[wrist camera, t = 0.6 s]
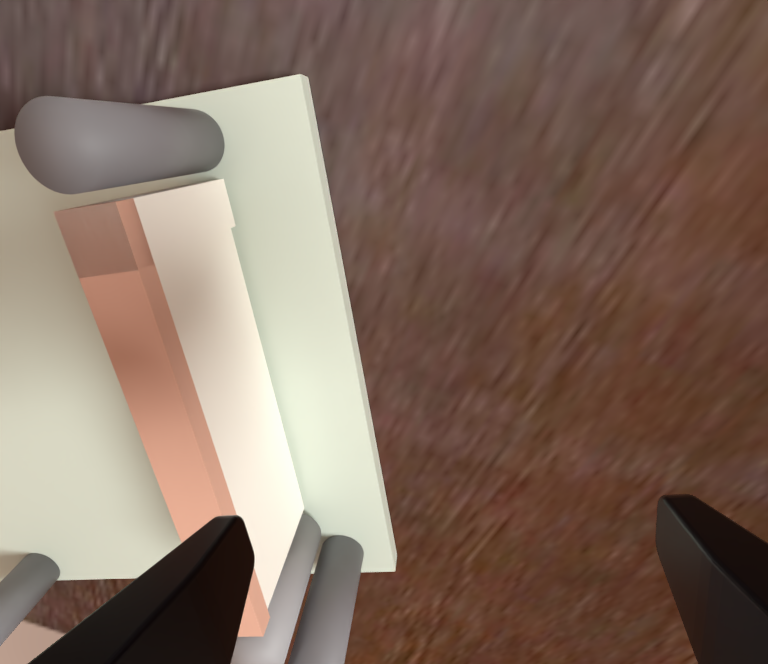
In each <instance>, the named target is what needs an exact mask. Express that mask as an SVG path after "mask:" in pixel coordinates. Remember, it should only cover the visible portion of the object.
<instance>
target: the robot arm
mask: <svg viewBox="0 0 768 664" xmlns="http://www.w3.org/2000/svg"><path fill="white" fill-rule="evenodd" d="M656 547H657V552H658V555H659V558H660V561H661V564H662V566H663V569H664V572H665V575H666V577H667V580H668V583H669V586H670V588H671V591H672V594H673V596H674V599H675V602H676V605H677V607H678V610H679V613H680V616H681V618H682V621H683V624H684V627H685V629H686V632H687V635H688V637H689V640H690V643H691V646H692V648H693V651H694V653H695V656H696V659H697V661H698V664H768V543H767V542H765V541H763V540H762V539H760V538H759V537H757V536H756V535H754V534H753V533H751V532H749V531H748V530H746V529H745V528H743V527H742V526H740V525H739V524H737V523H735V522H734V521H732V520H731V519H729V518H728V517H726V516H725V515H723V514H721V513H720V512H718V511H717V510H715V509H714V508H712V507H710V506H709V505H707V504H706V503H704V502H703V501H701V500H700V499H698V498H696V497H695V496H693V495H689V494H677V495H663V496H662V497H660V498H659V501H658V507H657V523H656ZM254 563H255V556H254V550H253V547H252V544H251V541H250V538H249V535H248V532H247V529H246V526H245V523H244V520H243V519H242V517H240V516H238V515H225V516H217V517H214V518H213V519H212V520H210V521H209V522H208V523H206V524H205V525H204V526H203V527H201V528H200V529H199V530H198V531H196V532H195V533H194V534H192V535H191V536H190V537H189V538H187V539H186V540H185V541H184V542H182V543H181V544H180V545H178V546H177V547H176V548H175V549H173V550H172V551H171V552H170V553H168V554H167V555H166V556H164V557H163V558H162V559H161V560H159V561H158V562H157V563H156V564H154V565H153V566H152V567H150V568H149V569H148V570H147V571H145V572H144V573H143V574H142V575H140V576H139V577H138V578H136V579H135V580H134V581H133V582H131V583H130V584H129V585H128V586H126V587H125V588H124V589H122V590H121V591H120V592H119V593H117V594H116V595H115V596H114V597H112V598H111V599H110V600H108V601H107V602H106V603H105V604H103V605H102V606H101V607H99V608H98V609H97V610H96V611H94V612H93V613H92V614H91V615H89V616H88V617H87V618H85V619H84V620H83V621H82V622H80V623H79V624H78V625H77V626H75V627H74V628H73V629H71V630H70V631H69V632H68V633H66V634H65V635H64V636H63V637H61V638H60V639H59V640H57V641H56V642H55V643H54V644H52V645H51V646H50V647H48V648H47V649H46V650H45V651H44V652H42V653H41V654H40V655H38V656H37V657H36V658H34V659H33V660H32V661H31V662H29V663H28V664H231V660H232V657H233V653H234V649H235V645H236V641H237V637H238V632H239V628H240V624H241V620H242V616H243V612H244V607H245V603H246V599H247V595H248V591H249V586H250V582H251V578H252V574H253V570H254Z"/></svg>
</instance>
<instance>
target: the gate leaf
mask: <svg viewBox="0 0 768 664" xmlns="http://www.w3.org/2000/svg"><path fill="white" fill-rule="evenodd" d="M53 213H54V215H55V218H56V221H57V223H58V226H59V228H60V231H61V234H62V236H63V239H64V241H65V244H66V246H67V249H68V252H69V254H70V257H71V259H72V262H73V264H74V267H75V270H76V272H77V275H78V277H79V280H80V283H81V285H82V288H83V290H84V293H85V295H86V298H87V301H88V303H89V306H90V308H91V311H92V313H93V316H94V319H95V321H96V324H97V326H98V329H99V331H100V334H101V337H102V339H103V342H104V344H105V347H106V350H107V352H108V355H109V357H110V360H111V362H112V365H113V368H114V370H115V373H116V375H117V378H118V380H119V383H120V386H121V388H122V391H123V393H124V396H125V399H126V401H127V404H128V406H129V409H130V411H131V414H132V417H133V419H134V422H135V424H136V427H137V429H138V432H139V435H140V437H141V440H142V442H143V445H144V448H145V450H146V453H147V455H148V458H149V460H150V463H151V466H152V468H153V471H154V473H155V476H156V478H157V481H158V484H159V486H160V489H161V491H162V494H163V496H164V499H165V502H166V504H167V507H168V509H169V512H170V515H171V517H172V520H173V522H174V525H175V527H176V530H177V533H178V535H179V538H180V540H181V543H182V542H184V541H185V540H186V539H187V538H189V537H190V536H191V535H192V534H194V533H195V532H196V531H198V530H199V529H200V528H201V527H203V526H204V525H205V524H206V523H208V522H209V521H210V520H212V519H213V518H214V517H217V516H225V515H238V516H240V517H242V519H243V520H244V523H245V526H246V529H247V532H248V535H249V538H250V541H251V544H252V547H253V550H254V556H255V563H254V570H253V574H252V578H251V582H250V586H249V591H248V595H247V599H246V603H245V607H244V612H243V616H242V620H241V624H240V628H239V632H238V637H237V641H236V645H235V649H234V653H233V657H232V660H231V664H284V662H285V659H286V655H287V652H288V648H289V645H290V642H291V638H292V635H293V631H294V628H295V625H296V621H297V618H298V614H299V611H300V608H301V604H302V601H303V597H304V594H305V591H306V587H307V584H308V581H309V577H310V574H311V570H312V567H313V564H314V560H315V557H316V553H317V550H318V547H319V543H320V540H321V535H322V533H321V529H320V526H319V525H318V523H317V522H316V521H315V520H314V519H313V518H311V517H310V516H308V515H306V514H303V510H304V505H303V501H302V497H301V493H300V489H299V486H298V482H297V478H296V474H295V470H294V467H293V463H292V459H291V455H290V451H289V448H288V444H287V440H286V436H285V432H284V429H283V425H282V421H281V417H280V413H279V410H278V406H277V402H276V398H275V394H274V391H273V387H272V383H271V379H270V375H269V372H268V368H267V364H266V360H265V356H264V353H263V349H262V345H261V341H260V337H259V334H258V330H257V326H256V322H255V318H254V315H253V311H252V307H251V303H250V299H249V296H248V292H247V288H246V284H245V280H244V277H243V273H242V269H241V265H240V261H239V258H238V254H237V250H236V246H235V242H234V238H233V235H232V231H231V228H232V227H235V226H236V225H235V221H234V217H233V213H232V210H231V206H230V202H229V198H228V194H227V190H226V186H225V183H224V179H218V180H212V181H206V182H199V183H193V184H187V185H181V186H176V187H171V188H166V189H161V190H156V191H152V192H147V193H142V194H137V195H132V196H127V197H123V198H118V199H113V200H108V201H103V202H98V203H94V204H89V205H84V206H79V207H74V208H69V209H65V210H60V211H55V212H53Z"/></svg>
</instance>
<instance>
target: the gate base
mask: <svg viewBox="0 0 768 664" xmlns="http://www.w3.org/2000/svg"><path fill="white" fill-rule="evenodd" d="M218 179H224V183H225V186H226V190H227V194H228V198H229V202H230V206H231V210H232V213H233V217H234V221H235V225H236V226H235V227H232V228H231V231H232V235H233V238H234V242H235V246H236V250H237V254H238V258H239V261H240V265H241V269H242V273H243V277H244V280H245V284H246V288H247V292H248V296H249V299H250V303H251V307H252V311H253V315H254V318H255V322H256V326H257V330H258V334H259V337H260V341H261V345H262V349H263V353H264V356H265V360H266V364H267V368H268V372H269V375H270V379H271V383H272V387H273V391H274V394H275V398H276V402H277V406H278V410H279V413H280V417H281V421H282V425H283V429H284V432H285V436H286V440H287V444H288V448H289V451H290V455H291V459H292V463H293V467H294V470H295V474H296V478H297V482H298V486H299V489H300V493H301V497H302V501H303V505H304V510H303V514H306V515H308V516H310V517H311V518H313V519H314V520H315V521H316V522H317V523H318V525H319V526H320V529H321V533H322V535H321V540H320V543H319V547H318V550H317V553H316V557H315V560H314V564H313V567H312V570H311V574H314V575H313V579H312V582H311V586H310V589H309V593H308V596H307V600H306V603H305V607H304V610H303V614H302V617H301V621H300V624H299V628H298V631H297V635H296V638H295V642H294V645H293V649H292V652H291V655H290V659H289V662H288V664H344V661H345V656H346V650H347V645H348V639H349V634H350V628H351V623H352V617H353V612H354V606H355V601H356V595H357V590H358V584H359V579H360V573H361V572H391V571H395V569H396V559H397V552H396V546H395V541H394V536H393V530H392V525H391V520H390V514H389V509H388V504H387V498H386V493H385V487H384V482H383V477H382V471H381V466H380V461H379V455H378V450H377V444H376V439H375V434H374V428H373V423H372V418H371V412H370V407H369V401H368V396H367V391H366V385H365V380H364V375H363V369H362V364H361V359H360V353H359V348H358V342H357V337H356V332H355V326H354V321H353V316H352V310H351V305H350V299H349V294H348V289H347V283H346V278H345V273H344V267H343V262H342V257H341V251H340V246H339V240H338V235H337V230H336V224H335V219H334V214H333V208H332V203H331V197H330V192H329V187H328V181H327V176H326V171H325V165H324V160H323V154H322V149H321V144H320V138H319V133H318V128H317V122H316V117H315V112H314V106H313V101H312V95H311V90H310V85H309V79H308V77H306V76H304V75H301V74H298V75H293V76H288V77H282V78H277V79H272V80H267V81H261V82H256V83H251V84H246V85H240V86H235V87H230V88H225V89H219V90H214V91H209V92H204V93H198V94H193V95H188V96H183V97H177V98H172V99H167V100H161V101H156V102H151V103H146V104H132V103H121V102H110V101H99V100H88V99H77V98H66V97H55V96H41V97H37V98H34V99H32V100H30V101H29V102H27V103H26V104H25V105H24V106H23V107H22V109H21V110H20V112H19V114H18V116H17V119H16V122H15V128H14V129H9V130H4V131H0V646H1V645H2V643H3V642H4V641H5V640H6V639H7V638H8V636H9V635H10V634H11V633H12V632H13V631H14V629H15V628H16V627H17V626H18V625H19V624H20V622H21V621H22V620H23V619H24V618H25V617H26V615H27V614H28V613H29V612H30V611H31V610H32V608H33V607H34V606H35V605H36V604H37V603H38V601H39V600H40V599H41V598H42V597H43V596H44V594H45V593H46V592H47V591H48V590H49V589H50V587H51V586H52V585H53V584H54V583H55V582H56V580H85V579H124V578H138V577H139V576H140V575H142V574H143V573H144V572H145V571H147V570H148V569H149V568H150V567H152V566H153V565H154V564H156V563H157V562H158V561H159V560H161V559H162V558H163V557H164V556H166V555H167V554H168V553H170V552H171V551H172V550H173V549H175V548H176V547H177V546H178V545H180V544H181V540H180V538H179V535H178V533H177V530H176V527H175V525H174V522H173V520H172V517H171V515H170V512H169V509H168V507H167V504H166V502H165V499H164V496H163V494H162V491H161V489H160V486H159V484H158V481H157V478H156V476H155V473H154V471H153V468H152V466H151V463H150V460H149V458H148V455H147V453H146V450H145V448H144V445H143V442H142V440H141V437H140V435H139V432H138V429H137V427H136V424H135V422H134V419H133V417H132V414H131V411H130V409H129V406H128V404H127V401H126V399H125V396H124V393H123V391H122V388H121V386H120V383H119V380H118V378H117V375H116V373H115V370H114V368H113V365H112V362H111V360H110V357H109V355H108V352H107V350H106V347H105V344H104V342H103V339H102V337H101V334H100V331H99V329H98V326H97V324H96V321H95V319H94V316H93V313H92V311H91V308H90V306H89V303H88V301H87V298H86V295H85V293H84V290H83V288H82V285H81V283H80V280H79V277H78V275H77V272H76V270H75V267H74V264H73V262H72V259H71V257H70V254H69V252H68V249H67V246H66V244H65V241H64V239H63V236H62V234H61V231H60V228H59V226H58V223H57V221H56V218H55V215H54V213H53V212H55V211H60V210H65V209H69V208H74V207H79V206H84V205H89V204H94V203H98V202H103V201H108V200H113V199H118V198H123V197H127V196H132V195H137V194H142V193H147V192H152V191H156V190H161V189H166V188H171V187H176V186H181V185H187V184H193V183H199V182H206V181H212V180H218Z"/></svg>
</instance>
